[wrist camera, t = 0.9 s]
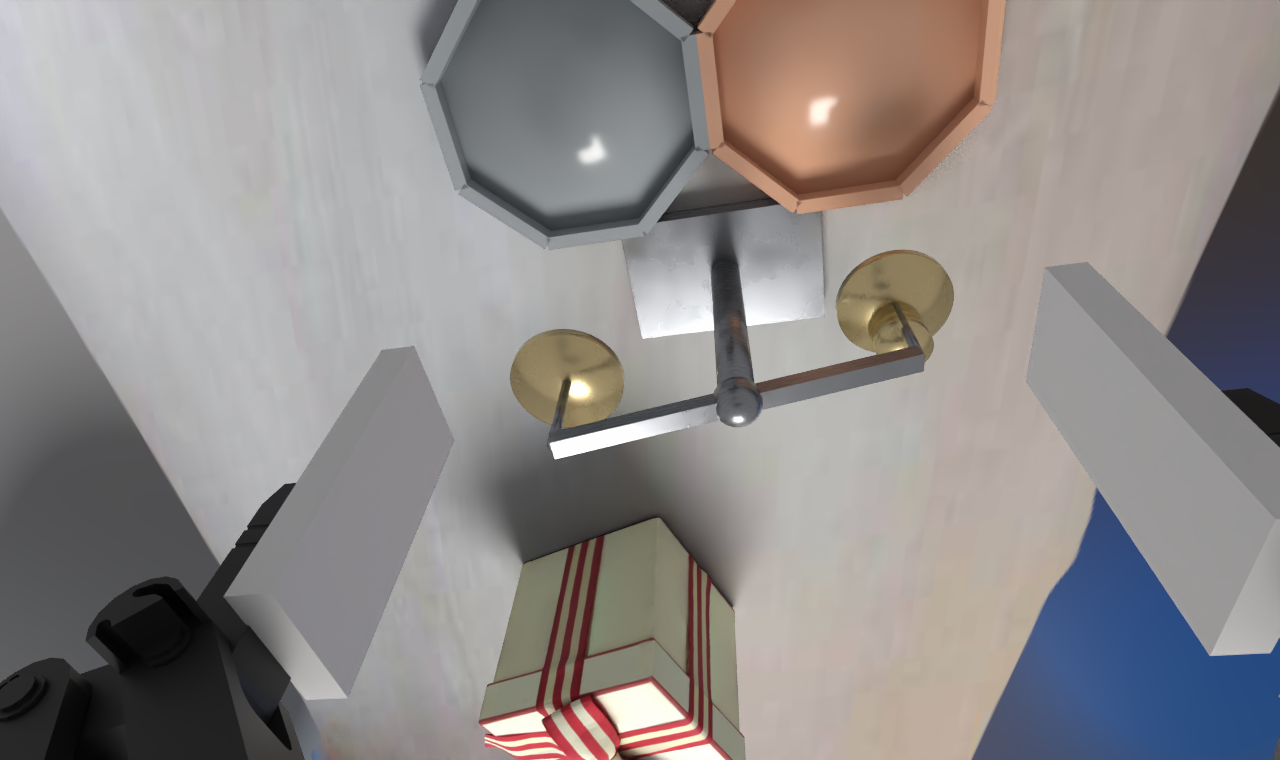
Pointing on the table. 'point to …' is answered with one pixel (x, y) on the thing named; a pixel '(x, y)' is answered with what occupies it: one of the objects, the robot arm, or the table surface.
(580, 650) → the gift box
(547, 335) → the balance
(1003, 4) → the terracotta dish
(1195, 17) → the table surface
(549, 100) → the slate dish
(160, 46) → the table surface
